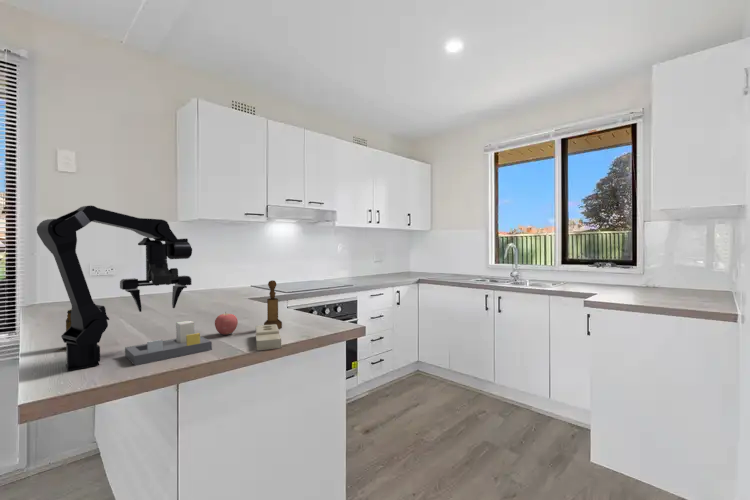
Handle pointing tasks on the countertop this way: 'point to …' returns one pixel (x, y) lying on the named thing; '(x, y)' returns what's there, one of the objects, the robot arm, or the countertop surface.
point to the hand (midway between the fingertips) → (157, 309)
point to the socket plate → (166, 349)
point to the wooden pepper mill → (272, 307)
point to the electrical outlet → (267, 337)
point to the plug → (184, 330)
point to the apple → (226, 323)
